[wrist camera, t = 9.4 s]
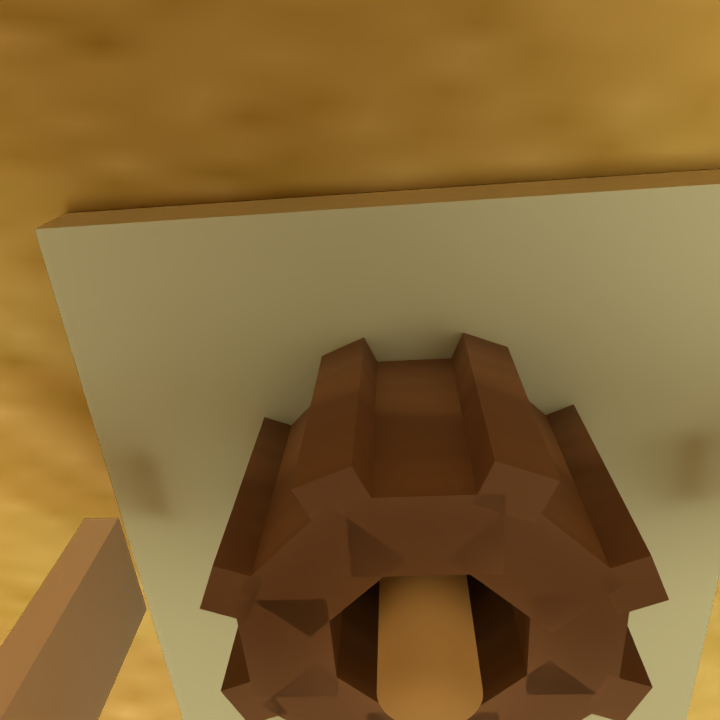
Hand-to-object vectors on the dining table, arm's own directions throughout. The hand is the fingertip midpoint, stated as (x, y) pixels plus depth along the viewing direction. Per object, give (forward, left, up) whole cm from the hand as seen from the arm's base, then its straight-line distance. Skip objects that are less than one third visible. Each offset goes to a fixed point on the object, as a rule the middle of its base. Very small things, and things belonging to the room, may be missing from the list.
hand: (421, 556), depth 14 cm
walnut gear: (0, 0, -3) cm, 3 cm away
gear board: (+5, 0, -4) cm, 7 cm away
